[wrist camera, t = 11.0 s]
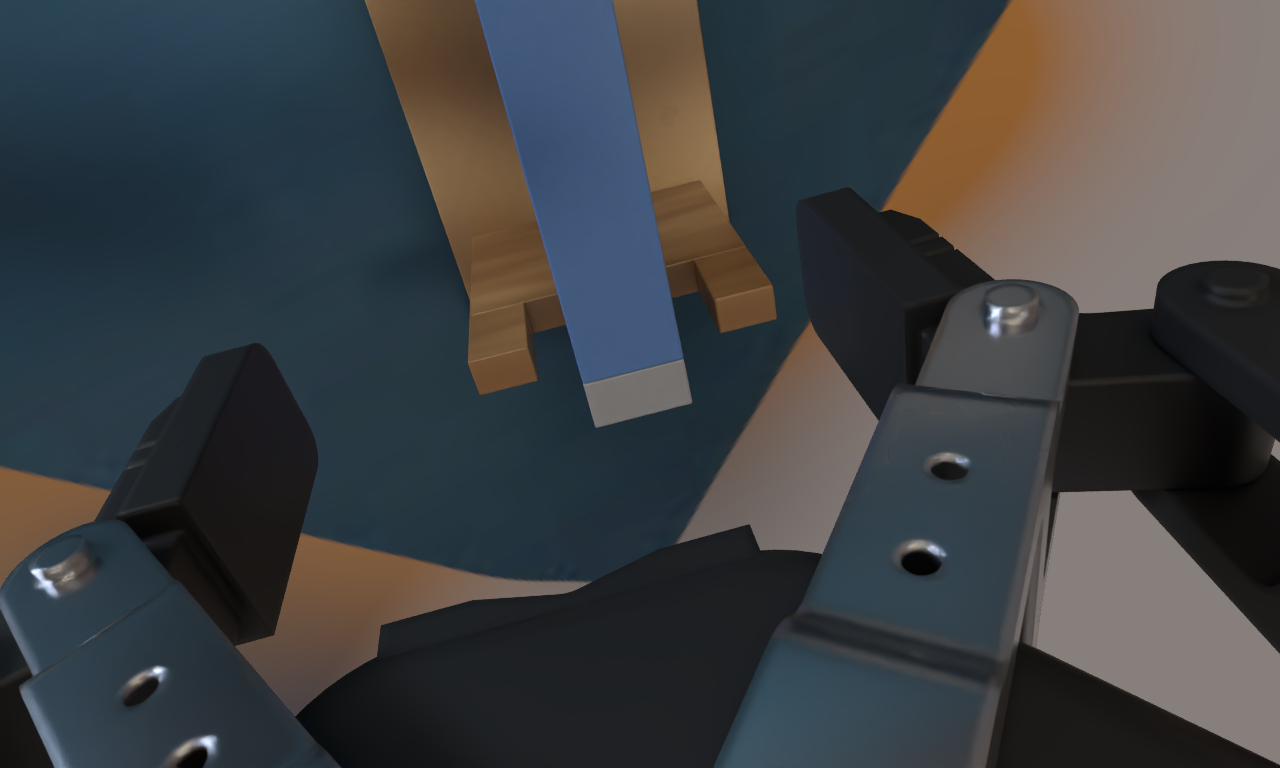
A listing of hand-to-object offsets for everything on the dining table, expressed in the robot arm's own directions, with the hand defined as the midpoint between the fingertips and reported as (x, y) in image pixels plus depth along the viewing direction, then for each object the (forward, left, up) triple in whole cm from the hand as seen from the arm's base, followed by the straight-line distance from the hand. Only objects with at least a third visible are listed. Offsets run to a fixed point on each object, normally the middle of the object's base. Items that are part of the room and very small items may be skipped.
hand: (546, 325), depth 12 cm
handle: (0, +1, -13) cm, 13 cm away
